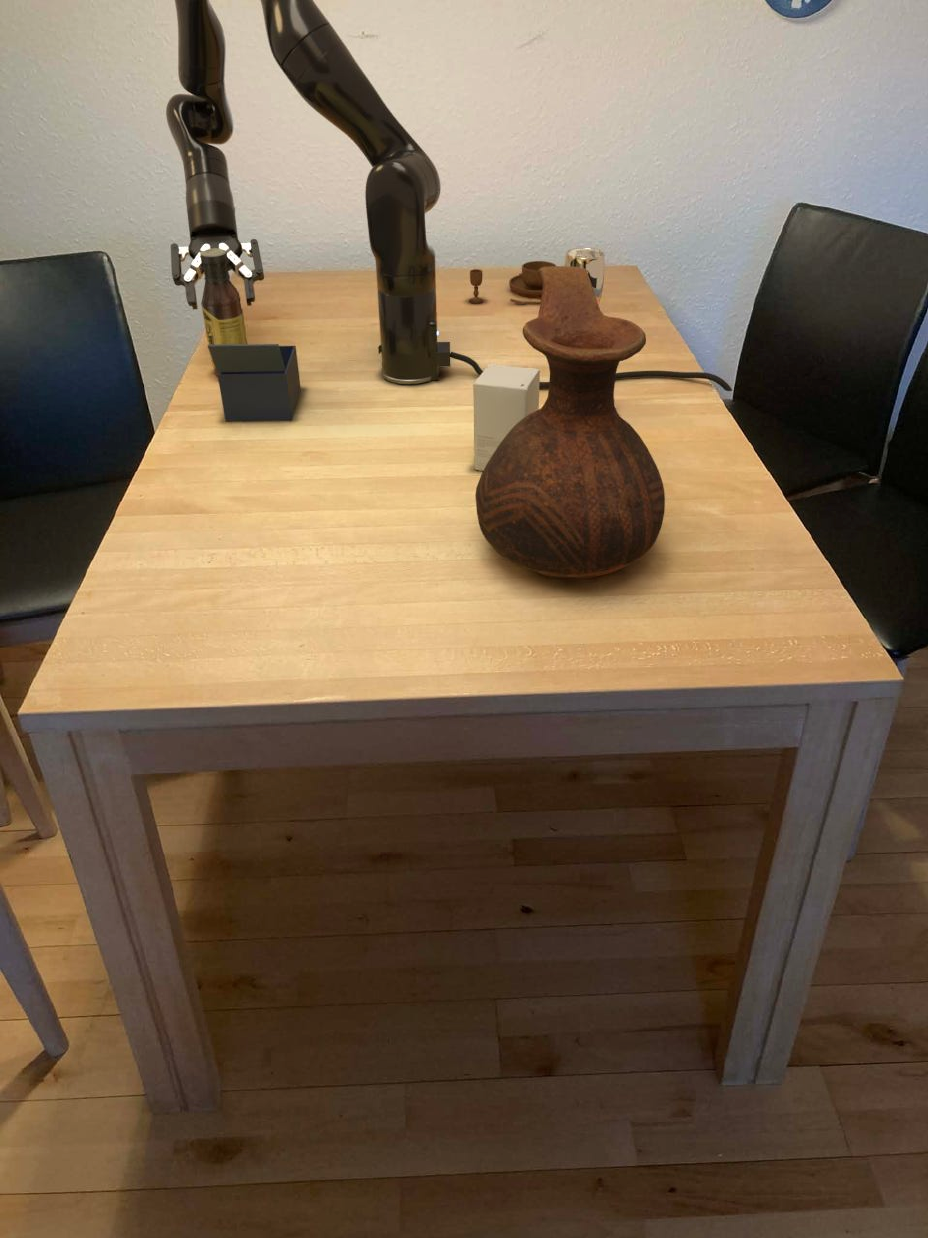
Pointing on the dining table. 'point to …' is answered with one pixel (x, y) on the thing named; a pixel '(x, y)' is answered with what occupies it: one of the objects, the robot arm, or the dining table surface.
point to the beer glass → (589, 266)
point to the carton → (262, 391)
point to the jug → (573, 449)
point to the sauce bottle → (221, 302)
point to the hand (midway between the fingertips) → (222, 305)
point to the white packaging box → (501, 406)
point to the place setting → (517, 282)
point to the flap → (247, 357)
